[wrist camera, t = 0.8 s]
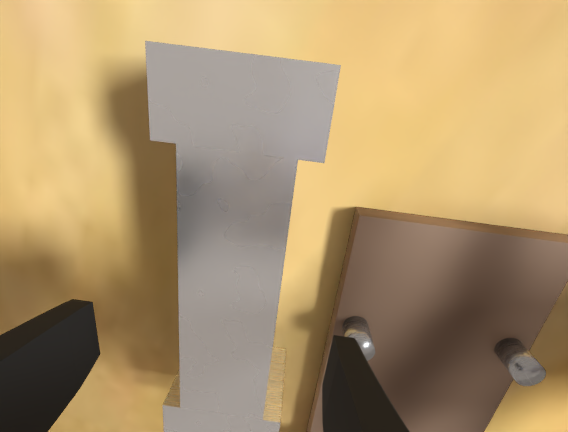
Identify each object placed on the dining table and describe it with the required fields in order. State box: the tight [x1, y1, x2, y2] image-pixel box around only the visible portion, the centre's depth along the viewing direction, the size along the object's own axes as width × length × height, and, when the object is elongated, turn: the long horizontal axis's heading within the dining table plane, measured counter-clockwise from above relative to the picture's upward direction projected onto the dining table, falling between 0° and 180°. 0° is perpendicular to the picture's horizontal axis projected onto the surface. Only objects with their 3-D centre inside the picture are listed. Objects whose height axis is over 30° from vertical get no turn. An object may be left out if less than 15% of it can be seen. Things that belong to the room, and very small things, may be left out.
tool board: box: [307, 207, 568, 432], centre depth 16 cm, size 9×20×2 cm, turn 173°
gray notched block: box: [145, 41, 341, 432], centre depth 13 cm, size 5×16×4 cm, turn 173°
